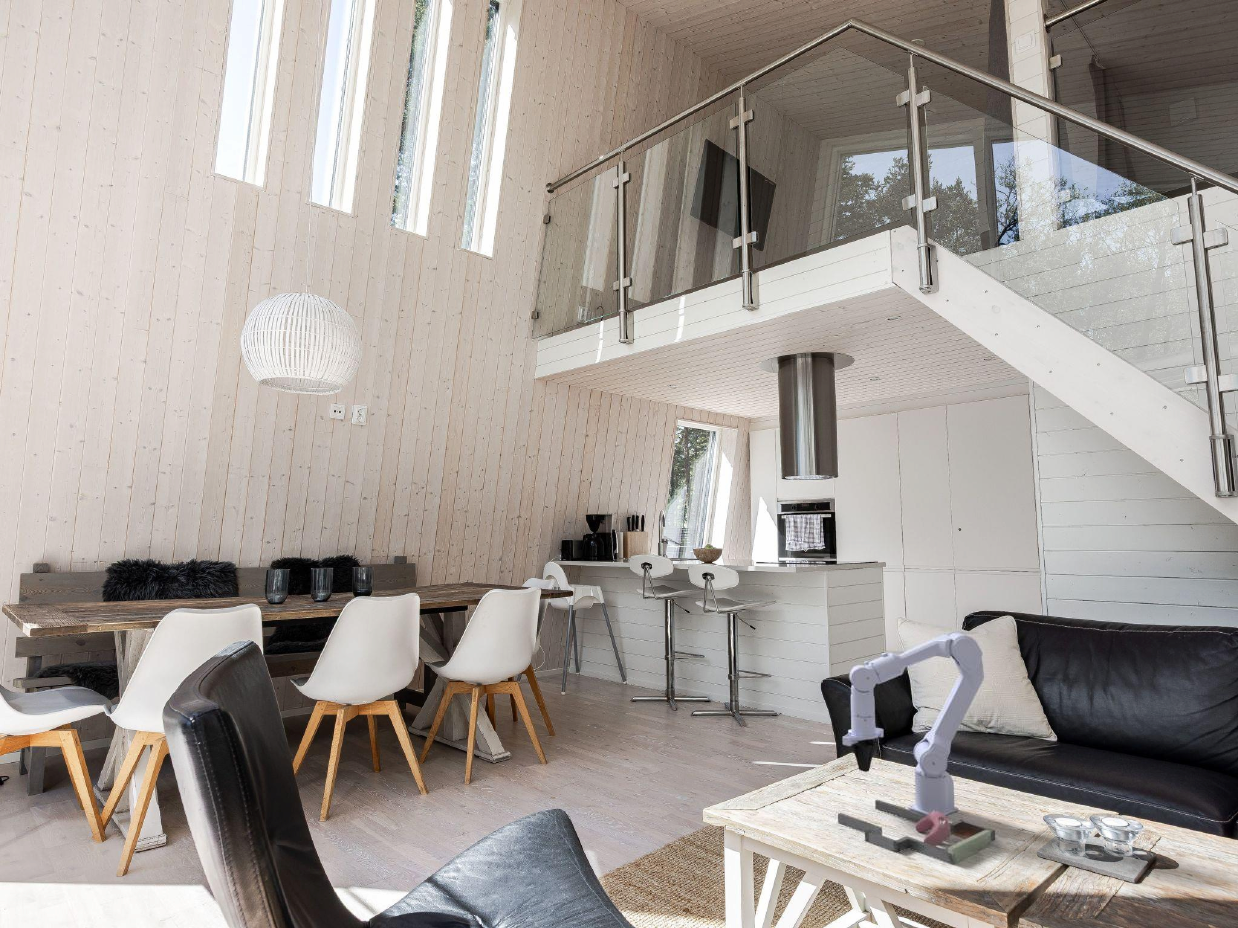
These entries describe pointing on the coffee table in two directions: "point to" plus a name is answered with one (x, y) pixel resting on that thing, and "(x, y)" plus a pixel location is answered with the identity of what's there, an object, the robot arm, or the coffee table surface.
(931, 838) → the video game controller
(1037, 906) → the coffee table surface
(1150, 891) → the coffee table surface
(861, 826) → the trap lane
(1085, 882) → the coffee table surface
